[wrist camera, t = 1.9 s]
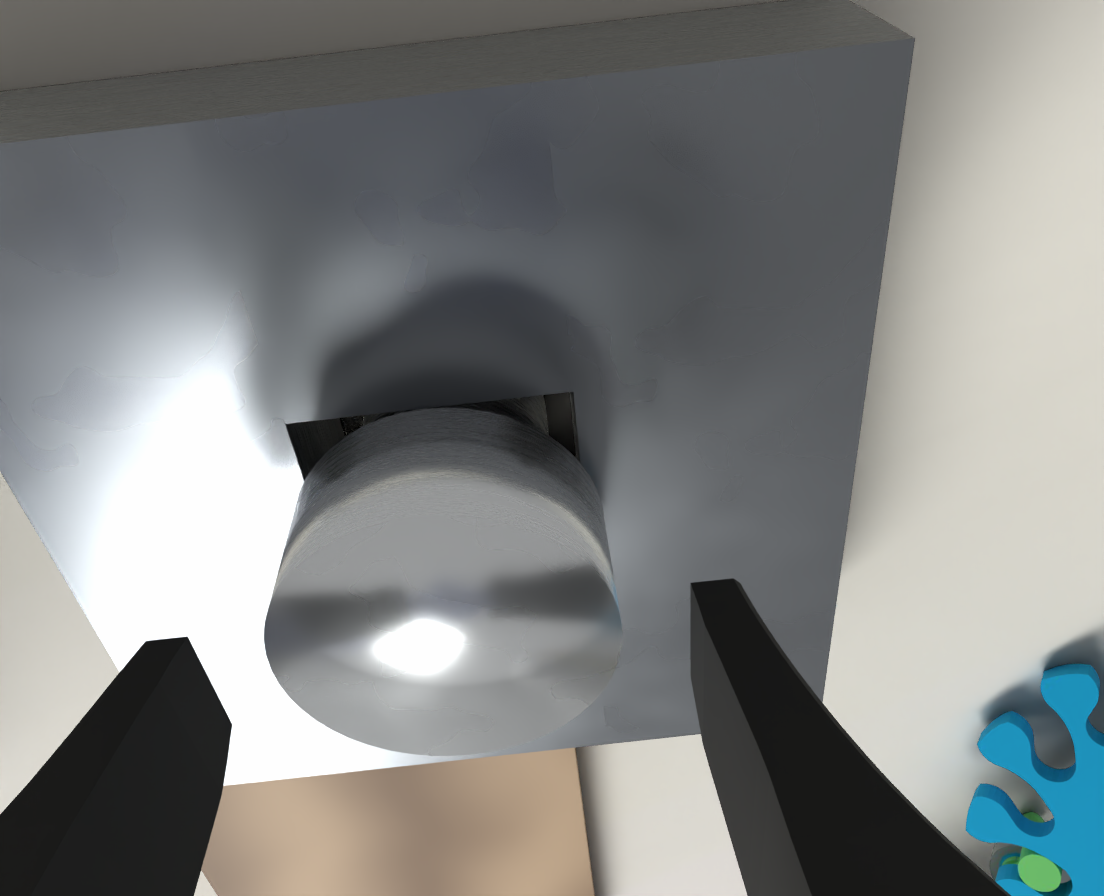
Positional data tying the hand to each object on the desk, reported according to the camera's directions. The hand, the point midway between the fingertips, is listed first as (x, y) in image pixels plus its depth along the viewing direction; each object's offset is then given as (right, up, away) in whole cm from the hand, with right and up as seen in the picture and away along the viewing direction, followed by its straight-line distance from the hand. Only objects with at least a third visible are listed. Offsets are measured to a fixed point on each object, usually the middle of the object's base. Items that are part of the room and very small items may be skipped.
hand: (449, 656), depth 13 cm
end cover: (0, +4, +5) cm, 6 cm away
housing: (0, +4, +5) cm, 6 cm away
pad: (-3, -9, +14) cm, 17 cm away
